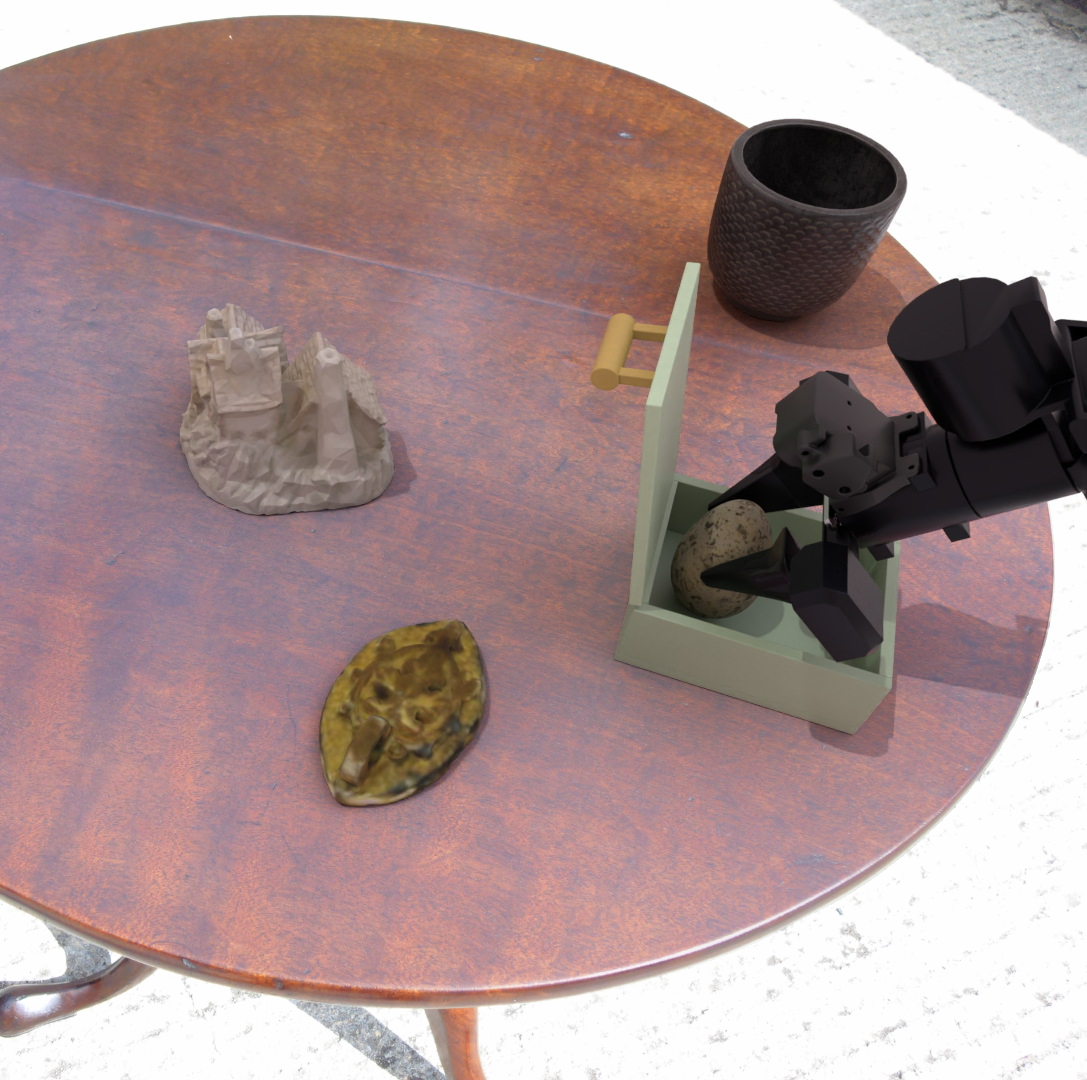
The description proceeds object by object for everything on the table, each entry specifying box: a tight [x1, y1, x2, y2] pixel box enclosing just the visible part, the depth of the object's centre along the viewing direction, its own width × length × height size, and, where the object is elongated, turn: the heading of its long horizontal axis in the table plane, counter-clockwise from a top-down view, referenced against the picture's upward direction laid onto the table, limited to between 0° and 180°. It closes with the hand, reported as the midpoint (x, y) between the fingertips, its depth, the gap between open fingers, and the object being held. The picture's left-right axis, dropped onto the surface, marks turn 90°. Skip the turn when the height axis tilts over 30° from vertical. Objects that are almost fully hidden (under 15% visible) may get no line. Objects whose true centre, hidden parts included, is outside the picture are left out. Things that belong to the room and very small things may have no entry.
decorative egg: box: [671, 500, 772, 619], centre depth 69 cm, size 6×6×10 cm
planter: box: [706, 118, 908, 322], centre depth 91 cm, size 14×14×13 cm
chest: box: [613, 471, 902, 736], centre depth 71 cm, size 16×13×6 cm
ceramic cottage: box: [178, 302, 395, 516], centre depth 77 cm, size 16×16×15 cm
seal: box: [318, 618, 487, 807], centre depth 66 cm, size 9×5×15 cm
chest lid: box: [589, 261, 702, 606], centre depth 64 cm, size 16×13×4 cm
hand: (706, 544), depth 69 cm, fingers closed on decorative egg, 5 cm apart
